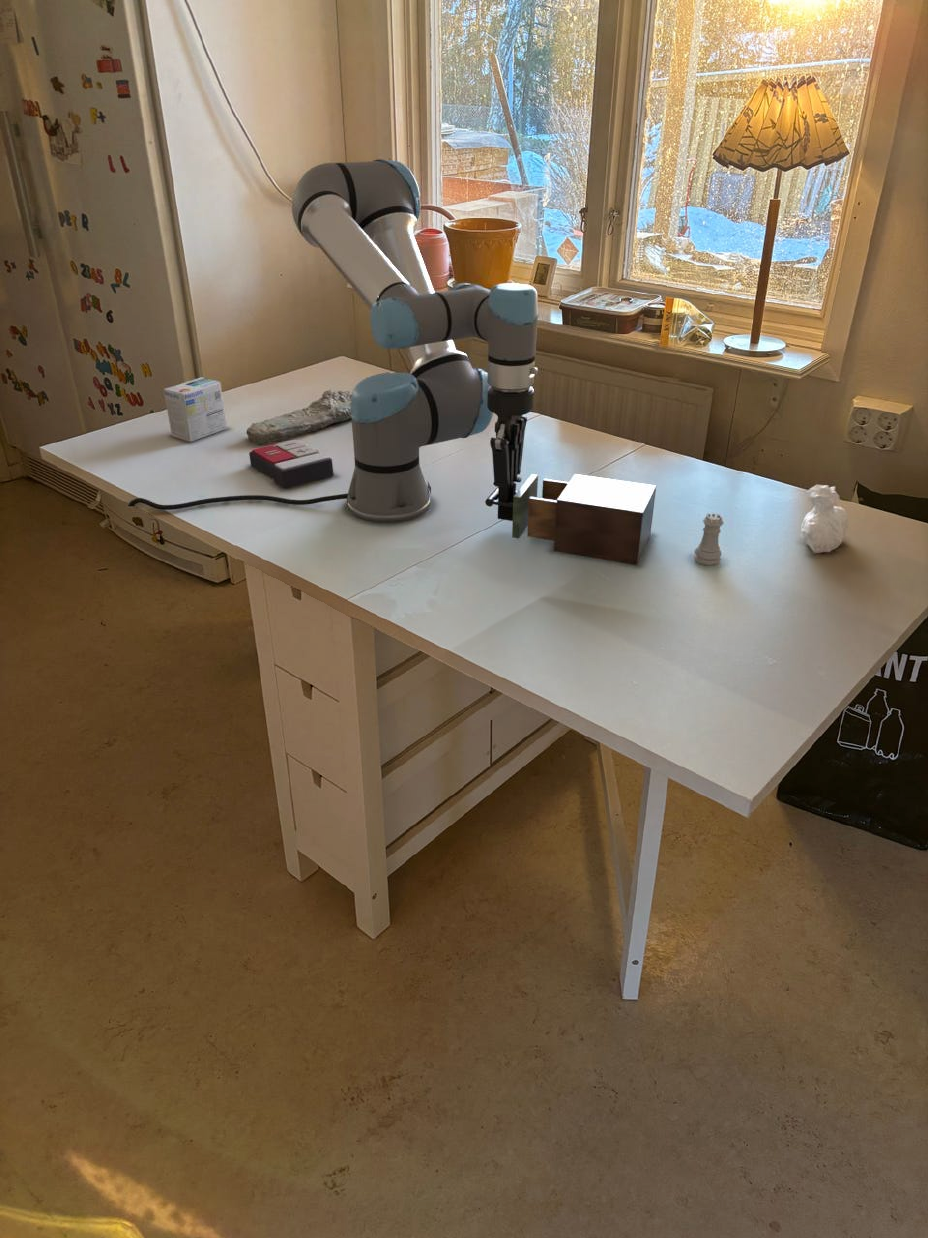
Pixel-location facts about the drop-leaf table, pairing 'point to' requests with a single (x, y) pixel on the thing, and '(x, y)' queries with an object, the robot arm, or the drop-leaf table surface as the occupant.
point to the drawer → (533, 508)
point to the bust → (824, 520)
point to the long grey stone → (303, 418)
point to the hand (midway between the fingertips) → (506, 518)
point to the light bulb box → (195, 409)
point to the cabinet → (604, 518)
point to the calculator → (291, 463)
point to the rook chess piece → (709, 541)
